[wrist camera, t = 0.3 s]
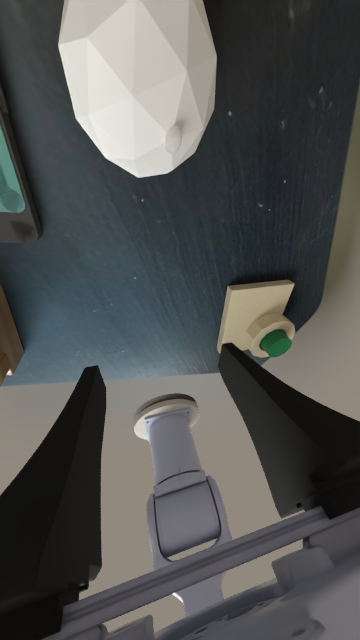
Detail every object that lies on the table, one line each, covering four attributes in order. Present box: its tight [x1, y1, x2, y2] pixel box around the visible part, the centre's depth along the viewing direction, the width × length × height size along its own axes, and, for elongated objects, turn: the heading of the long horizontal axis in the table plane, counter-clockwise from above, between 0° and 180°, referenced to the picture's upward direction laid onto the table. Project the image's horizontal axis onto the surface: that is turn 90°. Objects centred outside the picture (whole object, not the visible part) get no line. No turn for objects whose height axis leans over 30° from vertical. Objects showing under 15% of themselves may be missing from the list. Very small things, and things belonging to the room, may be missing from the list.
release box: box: [217, 280, 295, 358], centre depth 25 cm, size 10×9×3 cm
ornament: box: [58, 0, 217, 178], centre depth 10 cm, size 7×7×8 cm
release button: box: [260, 329, 292, 357], centre depth 25 cm, size 3×3×2 cm
